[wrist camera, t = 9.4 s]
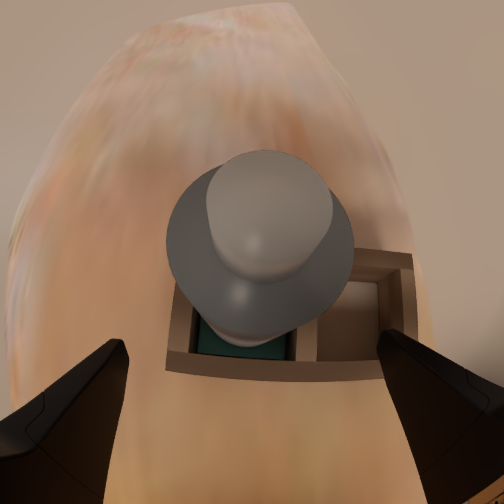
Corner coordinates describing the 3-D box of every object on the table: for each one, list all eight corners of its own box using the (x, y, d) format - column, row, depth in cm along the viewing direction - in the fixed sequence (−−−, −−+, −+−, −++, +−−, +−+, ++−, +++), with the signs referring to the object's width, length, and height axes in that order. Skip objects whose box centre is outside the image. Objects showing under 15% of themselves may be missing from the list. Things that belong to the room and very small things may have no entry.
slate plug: (261, 359, 18) (343, 366, 4) (199, 330, 18) (103, 252, 5) (288, 298, 19) (397, 167, 6) (228, 271, 20) (220, 96, 6)
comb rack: (391, 374, 18) (417, 374, 15) (177, 368, 17) (165, 370, 14) (389, 269, 21) (411, 253, 18) (191, 252, 21) (183, 232, 17)
